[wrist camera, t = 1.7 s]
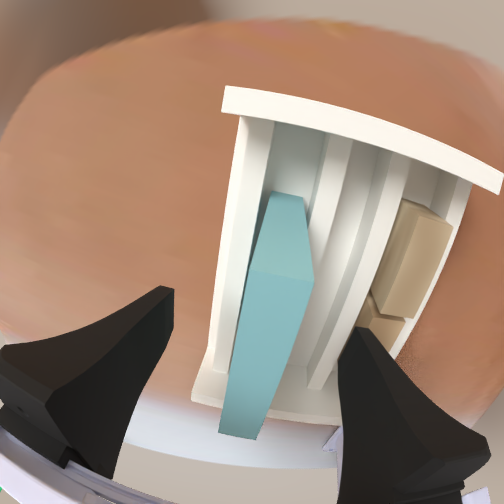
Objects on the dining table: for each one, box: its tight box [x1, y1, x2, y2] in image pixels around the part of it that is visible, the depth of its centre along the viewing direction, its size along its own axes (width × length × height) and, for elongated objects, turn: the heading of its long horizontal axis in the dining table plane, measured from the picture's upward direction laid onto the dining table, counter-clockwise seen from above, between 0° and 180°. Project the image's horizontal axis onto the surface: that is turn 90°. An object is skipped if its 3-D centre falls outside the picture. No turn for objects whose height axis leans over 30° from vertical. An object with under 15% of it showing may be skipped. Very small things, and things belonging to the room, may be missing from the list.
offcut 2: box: [370, 198, 454, 319], centre depth 13 cm, size 2×5×4 cm, turn 170°
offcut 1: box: [337, 288, 406, 363], centre depth 16 cm, size 2×5×3 cm, turn 170°
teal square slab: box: [218, 191, 314, 440], centre depth 13 cm, size 2×8×8 cm, turn 170°
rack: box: [191, 86, 504, 426], centre depth 15 cm, size 12×17×5 cm
